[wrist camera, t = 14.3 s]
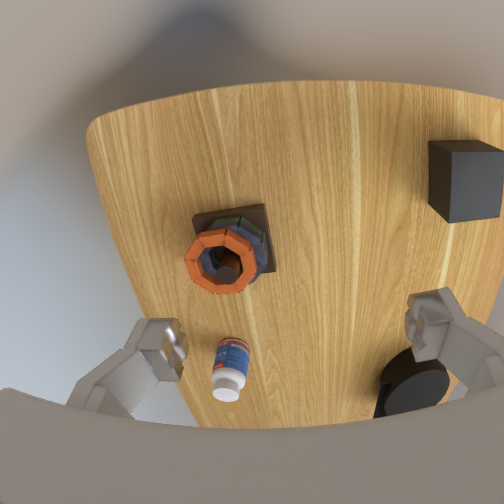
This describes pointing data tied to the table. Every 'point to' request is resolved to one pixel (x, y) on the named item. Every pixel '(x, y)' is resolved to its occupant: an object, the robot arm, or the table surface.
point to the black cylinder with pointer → (410, 385)
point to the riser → (465, 180)
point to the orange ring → (232, 243)
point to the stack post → (245, 225)
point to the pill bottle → (230, 369)
